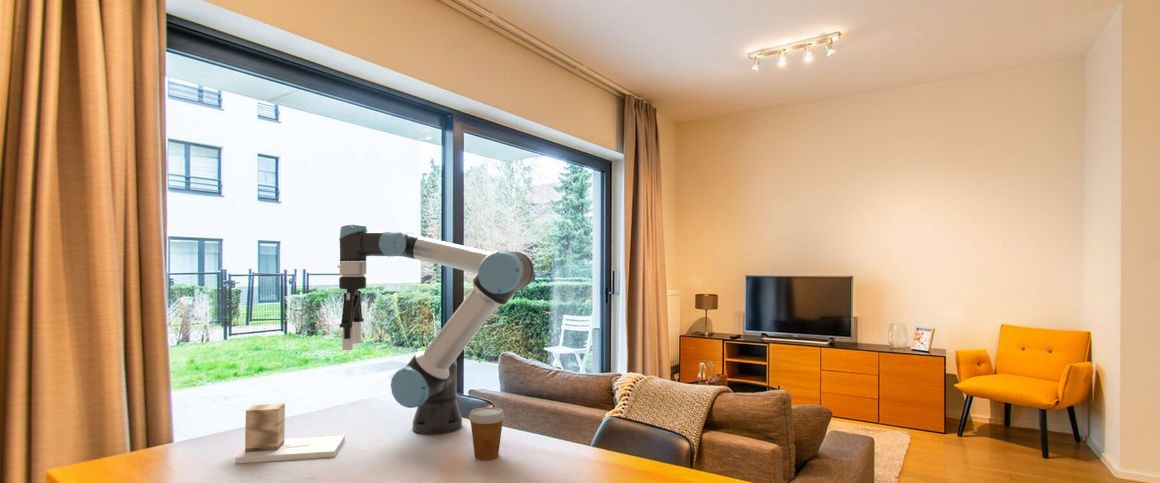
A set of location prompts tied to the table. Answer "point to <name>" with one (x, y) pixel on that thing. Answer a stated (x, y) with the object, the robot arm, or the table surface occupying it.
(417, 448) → the table surface
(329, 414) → the table surface
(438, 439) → the table surface
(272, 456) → the board
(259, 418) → the block
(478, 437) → the disposable coffee cup
